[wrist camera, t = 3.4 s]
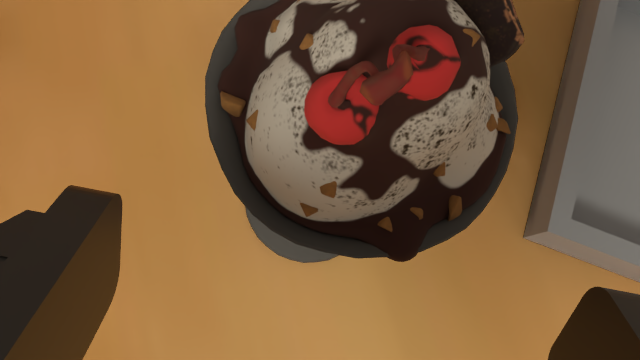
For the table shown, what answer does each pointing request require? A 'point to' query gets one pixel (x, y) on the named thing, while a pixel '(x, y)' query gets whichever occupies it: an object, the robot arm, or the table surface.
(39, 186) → the table surface
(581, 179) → the tray
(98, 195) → the robot arm
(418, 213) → the sundae
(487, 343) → the table surface
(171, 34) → the table surface
